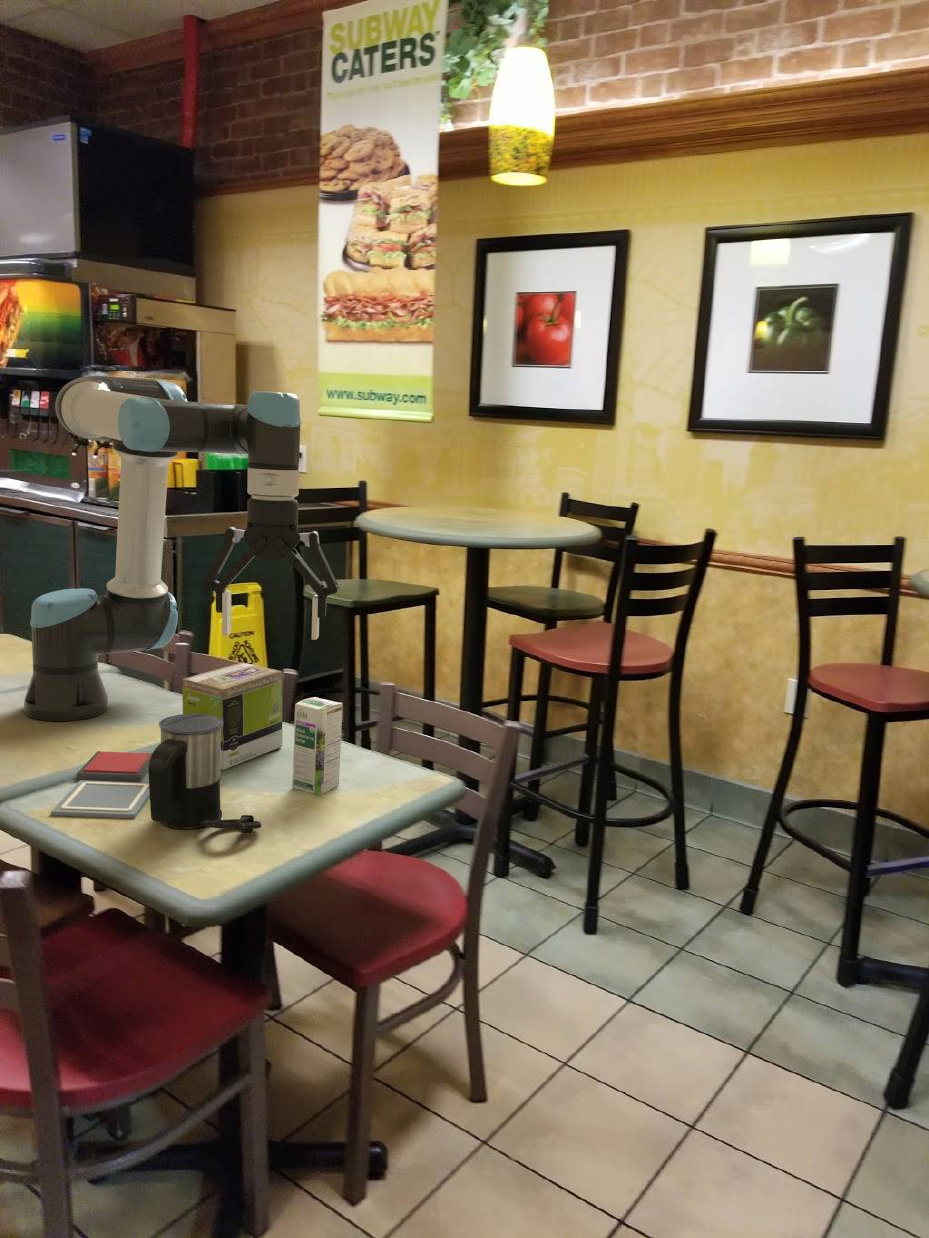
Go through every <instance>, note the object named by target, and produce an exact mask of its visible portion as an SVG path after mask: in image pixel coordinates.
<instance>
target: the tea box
mask: <svg viewBox="0 0 929 1238" xmlns="http://www.w3.org/2000/svg"><path fill="white" fill-rule="evenodd" d="M181 684H182V685H181V686H182V714H204V715H211V716H214V717H218V718H219V719H221V720H222V721H223V725H222V727H221V756H220V770H221V771H222V770H223V771H224V770H227V769H230V768H231V767H235V766H237V765H239V764H242V763H244V762H246V761H249V760H252V759H254V758H257V757H259V756H262V755H265V754H267V753H270V752H271V751H272V752H273V751H275V750H277V749H280V748H282V747H283V671H282V670H278V669H273V668H269V667H265V666H260V665H255V664H252V663H246V662H244V661H242V662H238V663H235V664H231V665H228V666H225V667H219V668H217V669H213V670H209V671H206V672H202V673H199V674H196V675H192V676H189V677H184V678H182V683H181Z"/></svg>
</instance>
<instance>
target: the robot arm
mask: <svg viewBox="0 0 929 1238" xmlns="http://www.w3.org/2000/svg"><path fill="white" fill-rule="evenodd" d="M54 404H55V405H54V406H55V413H56V416H57V417H56V418H57V419H58V421H59V423H60V425H62V427H63V428H64V429H65V430H66V431H68V432H69V433H71V434H72V435H74V436H77V437H79V438H83V439H88V440H92V441H100V442H112V449H113V450H112V451H114V452H115V453H116V454H117V456H118V457H120V471H119V472H120V475H119V494H118V495H119V496H118V513H117V515H118V517H117V535H116V557H115V559H116V560H115V576H114V577H113V578H112V579H110V580H108V582H107V583H106V592H105V595H98V594H97V592H96V591H95V590H94V589H91V588H85V587H83V588H82V587H81V588H67V589H66V588H65V589H59V590H55V591H51V592H47V593H45V594H42V595H40V596H38V597H36V599H35V600H34V601H32V604H31V610H30V611H31V613H30V623H29V624H30V627H31V648H32V649H31V650H32V676H31V679H30V683H29V684H28V688H27V691H26V694H25V697H24V700H23V710H24V714H25V713H26V714H27V715H28V717H29V716H30V717H29V718H31V717H33V718H32V719H34V718H36V719H35V720H39V719H40V721H47V722H67V721H71V722H72V721H78V720H84V719H85V720H86V719H89V718H93V717H97V716H99V715H101V714H103V713H104V712H106V711H107V710H108V709H109V695H108V693H107V690H106V688H105V686H104V682H103V680H102V678H101V674H100V672H99V663H98V662H99V660H98V659H99V656H101V655H109V654H121V653H130V652H140V651H141V652H142V651H143V652H147V651H150V650H153V649H160V648H163V647H165V646H167V644H168V643H170V642H171V640H172V639H173V637H174V636H175V633H176V630H177V626H178V617H179V616H178V615H179V611H178V610H177V608H178V607H177V606H178V604H177V601H176V598H175V596H174V595H173V594H172V593H171V592H169V588H168V585H167V584H166V583H165V582H164V581H163V580H162V570H163V569H162V568H163V567H162V566H163V565H162V564H163V555H164V553H163V552H164V536H165V535H164V534H165V524H166V523H165V522H166V521H165V520H166V519H165V518H166V508H167V507H166V505H167V493H168V492H167V491H168V480H169V478H168V474H169V464H170V463H171V462H172V461H173V460H174V459H175V458H177V457H178V453H180V452H181V453H182V452H183V453H189V452H190V453H205V454H207V453H208V454H228V455H229V454H231V455H233V454H234V455H235V454H236V455H247V491H246V492H247V494H248V495H249V496H251V497H249V498H248V499H247V502H246V503H247V506H246V507H247V508H246V510H247V512H246V514H247V515H246V518H247V519H246V521H247V522H246V527H245V529H239V528H238V529H237V528H236V527H235V526H230V527H228V528H226V529H225V532H224V538H223V539H224V541H223V543H222V546H221V548H220V549H219V551H218V553H217V555H216V556H215V559H214V560H213V563H212V565H211V566H210V568H209V570H208V572H207V574H206V576H205V578H204V580H203V582H202V585H203V587H204V588H205V589H207V588H209V589H211V590H213V591H214V592H215V612H216V613H219V614H220V613H221V621H222V622H221V623H222V624H221V627H222V629H221V632H222V633H221V634H222V636H228V635H229V634H230V633H231V632H232V590H226V589H227V587H229V585H230V584H231V583H232V582H234V580H235V579H236V578H237V577H238V575H239V574H241V572H242V571H243V570H244V569H245V568H246V567H247V566H248V564H249V563H250V562H252V560H253V559H255V557H257V558H259V559H260V560H269V559H272V560H274V561H282V560H285V559H287V560H288V561H289V563H291V565H292V566H293V567H294V568H295V570H297V572H298V573H299V574H300V575H301V577H302V578H303V579H304V580H305V582H306V583H307V584H308V585H309V587H310V588H311V589H312V590H313V592H314V593H315V594H314V595H313V596H312V602H311V603H312V605H311V607H312V608H311V611H312V613H311V614H312V616H311V640H314V641H317V639H318V638H319V636H320V618H321V619H323V618H325V617H326V615H327V605H328V604H327V603H328V602H327V601H328V596H331V595H335V594H337V592H338V591H339V589H340V586H339V583H338V582H337V579H336V577H335V575H334V573H333V571H332V568H331V567H330V564H329V562H328V560H327V558H326V556H325V554H324V552H323V549H322V546H321V545H320V544H321V543H320V534H319V532H318V531H317V530H314V531H312V532H302V533H301V532H300V530H299V502H298V500H297V499H295V497H298V496H299V490H300V488H299V487H300V485H299V484H300V470H299V468H300V452H301V451H300V449H301V448H300V445H301V444H300V443H301V424H302V418H301V414H300V413H301V411H300V410H301V408H300V398H299V397H298V396H297V395H296V394H295V393H291V392H281V391H266V390H265V391H262V390H261V391H259V390H255V391H252V392H250V394H249V396H248V402H247V404H241V403H221V402H203V401H202V402H201V401H188V399H187V397H186V394H185V392H184V390H182V388H181V387H180V386H179V385H177V384H176V383H174V382H171V381H165V380H159V379H154V378H153V379H152V378H140V377H138V378H137V377H123V376H122V377H121V376H120V377H119V376H106V375H89V376H82V377H78V378H75V379H73V380H71V381H70V382H68V383H67V384H65V385H64V386H63V387H62V388H61V389H60V391H59V392H58V393H57V396H56V399H55V402H54ZM242 538H244V540H245V542H246V543H247V545H248V547H249V548H248V549H247V551H246V552H245V553H244V554H243V555H242V556H241V558H240V559H239V560H238V561H237V562H236V563H235V564H234V565H233V567H232V568H231V569H230V570H229V571H228V572H227V573H226V574H225V575H224V576H223V577H222V579H221V580H220V581H219V580H217V579H218V578H219V575H220V573H221V572H222V570H223V568H224V566H225V563H226V561H227V560H228V558H229V556H230V555H231V553H232V551H233V548H234V546H235V544H237V543H239V542H240V541H241V539H242ZM301 541H302V542H303V543H304V545H305V547H307V548H309V549H310V551H311V555H312V556H313V559H314V561H315V563H316V565H317V567H318V569H319V572H320V574H321V576H322V578H323V580H324V582H325V585H326V586H325V585H324V584H323V583H322V582H321V580H320V579H319V577H317V575H316V574H315V573H314V572H313V570H312V569H311V567H309V565H308V564H307V563H306V561H305V560H304V559H303V558H302V555H301V554H300V553H299V551H298V550H297V549H296V547H297V545H298V544H300V542H301ZM26 714H25V715H26ZM27 715H26V716H27Z"/></svg>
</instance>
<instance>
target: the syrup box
mask: <svg viewBox="0 0 929 1238" xmlns="http://www.w3.org/2000/svg"><path fill="white" fill-rule="evenodd" d="M342 720H343V702H338V701H333V700H329V699H324V698H319V697H318V696H317V697H316V696H314V697H309V698H305V699H302V700H300V701H298V702H296V703H295V705H294V721H293V722H294V725H293V726H294V727H293V728H294V729H293V732H294V733H293V734H294V735H293V758H292V759H293V761H292V762H293V763H292V785H291V787H292V789H294V790H295V789H296V790H299V791H303V792H306V793H309V794H313V795H316V796H322V795H323V794H325V793H327V792H329V791H330V790H332V789H334V788H336V787H338V786H339V785H340V772H341V771H340V769H341V750H342V743H341V741H342V726H343V725H342V724H343V723H342V722H343V721H342Z"/></svg>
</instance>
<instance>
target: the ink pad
mask: <svg viewBox="0 0 929 1238" xmlns="http://www.w3.org/2000/svg"><path fill="white" fill-rule="evenodd" d="M152 754H153V752H152V753H149V752H126V751H125V752H124V751H121V752H120V751H101V750H98V751H96V752H95V753H94V754H93V756H91V758H90V759H88V761H86V762H85V764H84V765H83V766H82V767H81V768H80V769H79V770H78V771H77V772H76V781H80V780H84V781H111V782H137V783H142V782H143V780H144V778H145V777H146V776H147V775H148V769H149V762H150V758H151V756H152Z"/></svg>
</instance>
